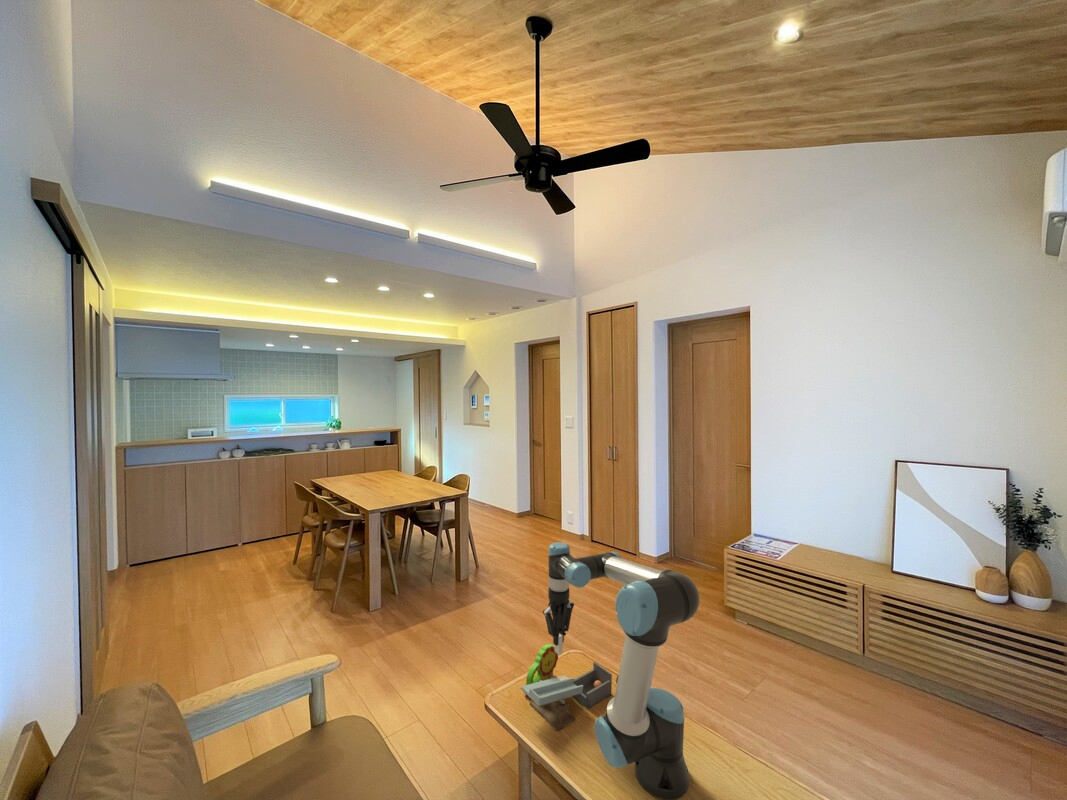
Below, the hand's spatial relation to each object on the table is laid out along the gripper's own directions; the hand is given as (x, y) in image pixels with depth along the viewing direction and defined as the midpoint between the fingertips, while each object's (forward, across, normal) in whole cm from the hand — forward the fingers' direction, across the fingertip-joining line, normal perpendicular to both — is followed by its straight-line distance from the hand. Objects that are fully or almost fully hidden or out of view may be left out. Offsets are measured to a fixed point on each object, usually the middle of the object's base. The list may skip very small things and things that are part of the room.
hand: (558, 652), depth 156 cm
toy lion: (+18, 0, -9) cm, 20 cm away
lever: (+11, +5, +3) cm, 13 cm away
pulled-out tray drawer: (+18, -12, +4) cm, 22 cm away
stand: (+18, +5, +3) cm, 19 cm away
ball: (+16, -16, +4) cm, 23 cm away
